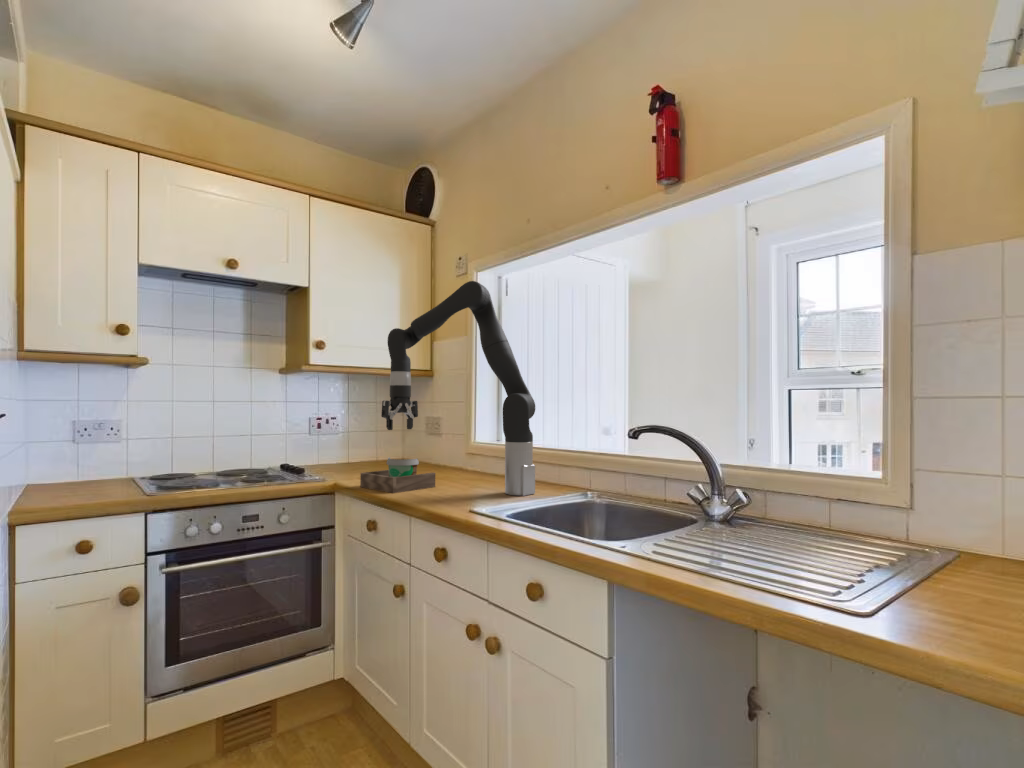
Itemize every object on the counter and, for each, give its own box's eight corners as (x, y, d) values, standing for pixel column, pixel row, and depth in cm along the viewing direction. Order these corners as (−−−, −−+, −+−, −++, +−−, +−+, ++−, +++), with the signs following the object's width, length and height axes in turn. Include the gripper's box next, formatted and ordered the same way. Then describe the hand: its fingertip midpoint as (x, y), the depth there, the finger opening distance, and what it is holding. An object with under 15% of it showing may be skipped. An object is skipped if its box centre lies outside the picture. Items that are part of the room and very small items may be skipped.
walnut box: (435, 486, 193) (435, 472, 193) (393, 493, 180) (393, 478, 180) (402, 481, 206) (402, 468, 206) (360, 486, 192) (360, 472, 193)
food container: (379, 487, 192) (379, 459, 192) (388, 484, 198) (388, 457, 198) (410, 489, 188) (411, 460, 189) (418, 486, 194) (419, 458, 195)
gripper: (390, 383, 187) (389, 430, 186) (422, 384, 197) (422, 429, 197) (377, 384, 192) (376, 430, 191) (409, 385, 202) (409, 428, 202)
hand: (399, 429), depth 194 cm, fingers open, 8 cm apart
